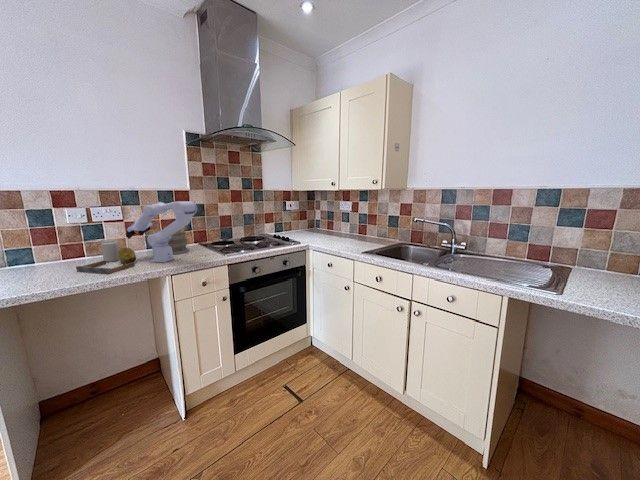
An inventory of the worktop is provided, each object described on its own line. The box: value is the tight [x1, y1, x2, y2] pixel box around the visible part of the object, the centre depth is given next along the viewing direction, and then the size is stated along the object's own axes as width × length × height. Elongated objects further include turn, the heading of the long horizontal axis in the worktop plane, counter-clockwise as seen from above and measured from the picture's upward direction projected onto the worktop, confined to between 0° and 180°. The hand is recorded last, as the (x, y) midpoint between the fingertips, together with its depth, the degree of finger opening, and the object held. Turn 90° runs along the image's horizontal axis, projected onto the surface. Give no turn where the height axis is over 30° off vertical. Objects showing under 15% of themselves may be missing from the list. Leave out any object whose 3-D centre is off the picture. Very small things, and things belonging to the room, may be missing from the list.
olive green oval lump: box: [118, 247, 137, 265], centre depth 146 cm, size 8×13×8 cm, turn 33°
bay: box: [75, 260, 136, 275], centre depth 136 cm, size 20×14×2 cm, turn 77°
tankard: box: [167, 226, 189, 256], centre depth 172 cm, size 20×13×15 cm, turn 173°
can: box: [100, 238, 120, 263], centre depth 150 cm, size 8×8×12 cm
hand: (134, 235), depth 155 cm, fingers open, 7 cm apart
